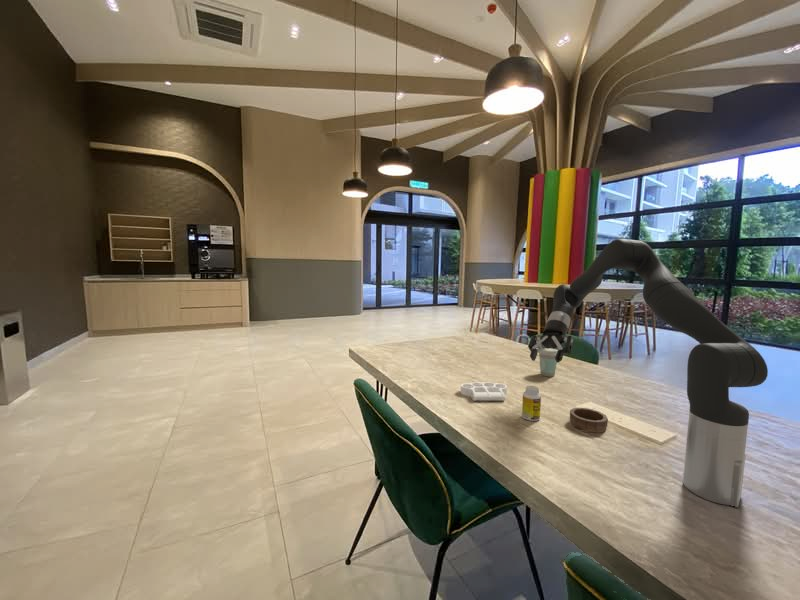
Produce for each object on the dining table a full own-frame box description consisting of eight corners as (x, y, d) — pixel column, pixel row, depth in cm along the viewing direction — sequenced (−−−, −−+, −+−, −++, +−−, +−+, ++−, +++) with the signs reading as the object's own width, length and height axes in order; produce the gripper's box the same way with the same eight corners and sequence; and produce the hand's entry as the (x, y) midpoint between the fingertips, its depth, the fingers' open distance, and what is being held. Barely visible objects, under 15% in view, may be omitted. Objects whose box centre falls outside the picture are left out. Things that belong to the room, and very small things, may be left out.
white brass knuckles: (465, 403, 122) (458, 388, 137) (514, 403, 122) (502, 388, 137) (465, 394, 122) (458, 380, 137) (514, 394, 122) (502, 380, 137)
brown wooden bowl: (611, 426, 104) (612, 415, 103) (598, 436, 97) (599, 425, 97) (577, 415, 111) (578, 405, 111) (564, 424, 105) (564, 413, 105)
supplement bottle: (533, 423, 106) (534, 392, 105) (518, 416, 110) (519, 386, 109) (543, 419, 109) (545, 388, 108) (528, 412, 113) (530, 383, 112)
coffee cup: (539, 370, 159) (540, 346, 158) (558, 373, 155) (560, 348, 153) (536, 375, 152) (537, 350, 150) (556, 379, 147) (558, 352, 146)
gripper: (534, 319, 126) (520, 351, 118) (574, 318, 116) (562, 353, 107) (541, 333, 129) (528, 365, 121) (581, 333, 119) (569, 368, 110)
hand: (544, 360), depth 114 cm, fingers open, 8 cm apart
